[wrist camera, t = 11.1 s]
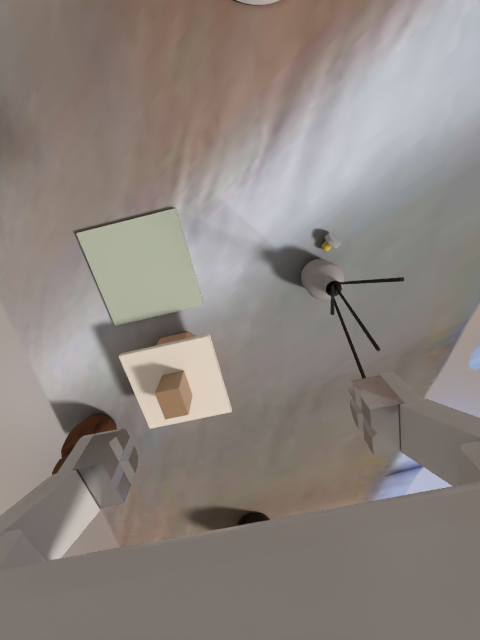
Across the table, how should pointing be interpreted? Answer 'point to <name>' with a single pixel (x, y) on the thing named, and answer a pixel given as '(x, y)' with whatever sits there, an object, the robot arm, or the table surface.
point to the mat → (142, 267)
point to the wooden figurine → (84, 434)
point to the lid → (177, 381)
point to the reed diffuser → (334, 287)
